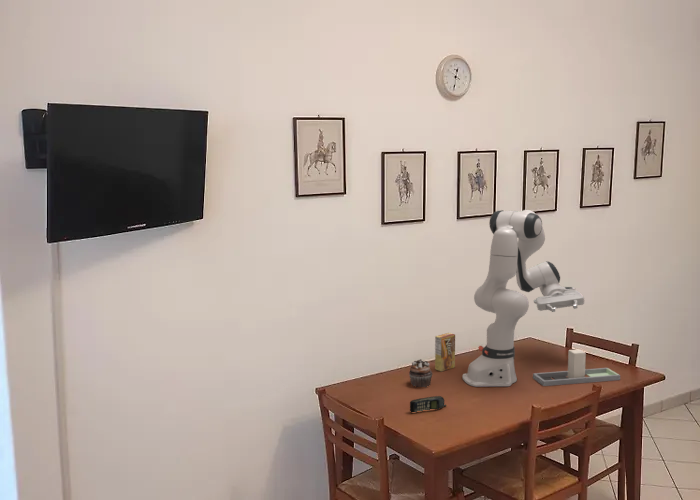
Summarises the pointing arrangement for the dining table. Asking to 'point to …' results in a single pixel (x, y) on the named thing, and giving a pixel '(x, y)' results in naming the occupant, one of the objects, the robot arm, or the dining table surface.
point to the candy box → (444, 351)
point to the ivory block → (576, 363)
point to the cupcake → (420, 373)
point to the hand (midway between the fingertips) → (564, 308)
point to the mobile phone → (427, 403)
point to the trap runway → (561, 378)
